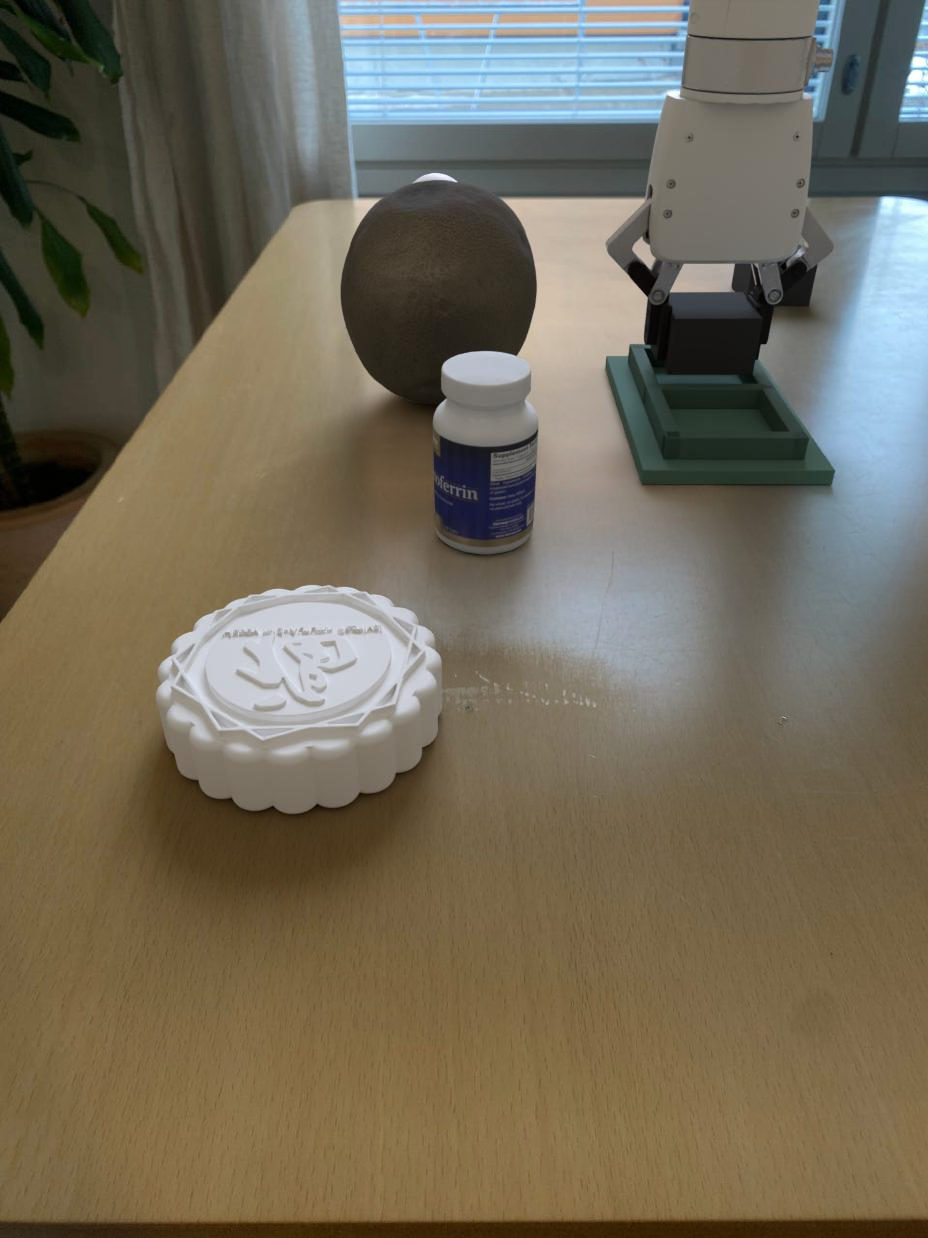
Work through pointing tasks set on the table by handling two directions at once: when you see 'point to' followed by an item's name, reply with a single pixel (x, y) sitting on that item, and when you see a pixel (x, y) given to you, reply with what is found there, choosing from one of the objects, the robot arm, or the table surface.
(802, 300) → the pad
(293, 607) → the mooncake
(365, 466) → the table surface
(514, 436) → the pill bottle
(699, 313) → the black square block
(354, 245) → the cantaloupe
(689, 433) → the base mat
